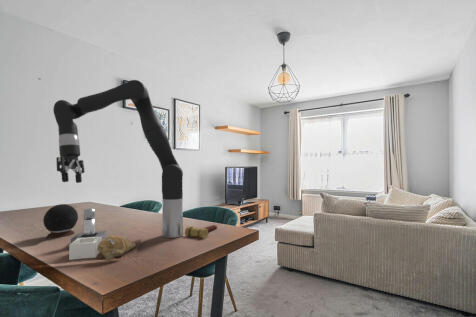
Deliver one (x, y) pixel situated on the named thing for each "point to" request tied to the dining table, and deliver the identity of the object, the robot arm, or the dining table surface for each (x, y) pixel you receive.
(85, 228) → the grey tall cylinder
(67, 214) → the black rounded disc
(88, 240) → the block
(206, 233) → the gavel
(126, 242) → the seashell
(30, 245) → the dining table surface
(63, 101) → the robot arm
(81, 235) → the socket block
